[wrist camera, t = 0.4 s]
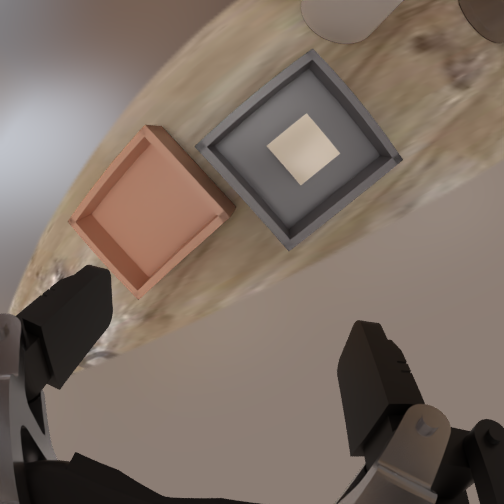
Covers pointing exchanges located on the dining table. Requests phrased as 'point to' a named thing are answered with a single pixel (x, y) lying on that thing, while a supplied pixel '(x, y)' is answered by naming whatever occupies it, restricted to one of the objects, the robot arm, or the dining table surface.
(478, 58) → the dining table surface
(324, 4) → the cup
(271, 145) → the block
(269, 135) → the bin
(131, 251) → the bin
